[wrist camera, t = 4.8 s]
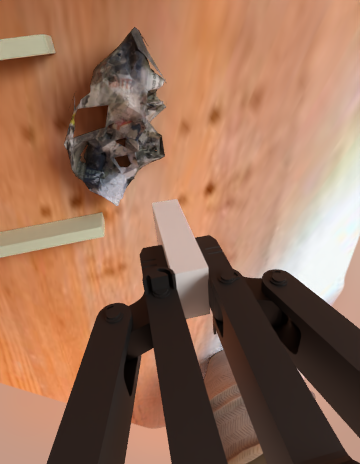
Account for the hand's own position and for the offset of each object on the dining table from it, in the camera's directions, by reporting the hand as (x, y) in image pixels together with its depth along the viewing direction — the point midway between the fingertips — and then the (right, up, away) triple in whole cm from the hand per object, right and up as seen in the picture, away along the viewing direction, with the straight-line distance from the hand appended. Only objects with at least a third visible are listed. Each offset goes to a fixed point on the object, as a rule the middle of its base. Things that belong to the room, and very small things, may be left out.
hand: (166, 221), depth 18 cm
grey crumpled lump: (-7, +13, +18) cm, 23 cm away
